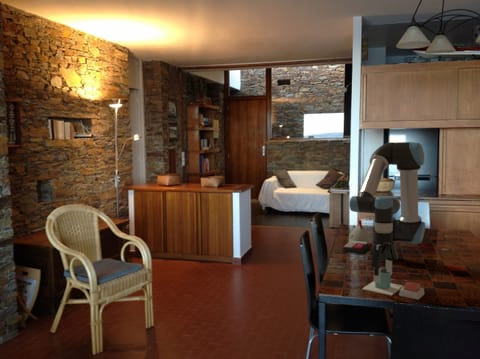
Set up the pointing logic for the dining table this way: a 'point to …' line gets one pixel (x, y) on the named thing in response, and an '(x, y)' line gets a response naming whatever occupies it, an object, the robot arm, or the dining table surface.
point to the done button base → (412, 293)
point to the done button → (412, 286)
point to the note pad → (389, 291)
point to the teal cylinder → (384, 279)
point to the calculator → (356, 247)
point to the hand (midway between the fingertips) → (383, 278)
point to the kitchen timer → (360, 234)
